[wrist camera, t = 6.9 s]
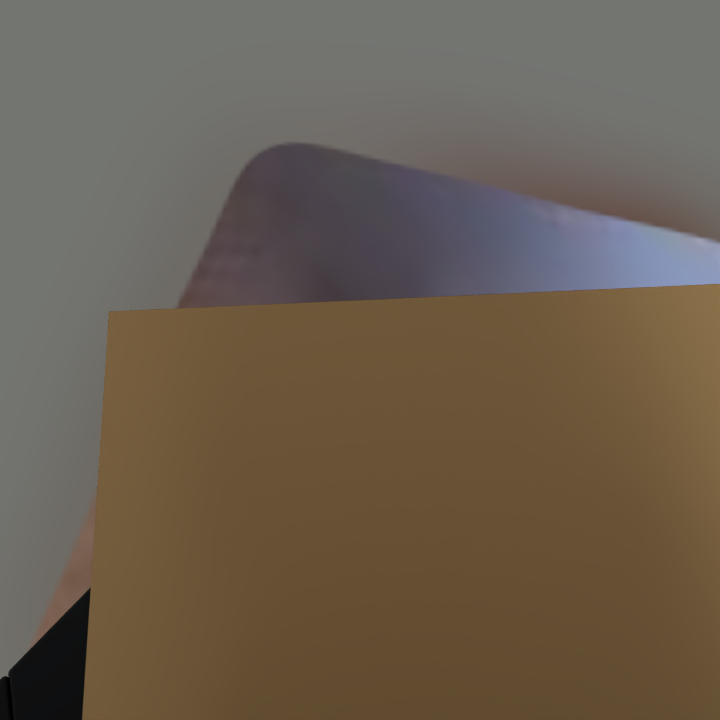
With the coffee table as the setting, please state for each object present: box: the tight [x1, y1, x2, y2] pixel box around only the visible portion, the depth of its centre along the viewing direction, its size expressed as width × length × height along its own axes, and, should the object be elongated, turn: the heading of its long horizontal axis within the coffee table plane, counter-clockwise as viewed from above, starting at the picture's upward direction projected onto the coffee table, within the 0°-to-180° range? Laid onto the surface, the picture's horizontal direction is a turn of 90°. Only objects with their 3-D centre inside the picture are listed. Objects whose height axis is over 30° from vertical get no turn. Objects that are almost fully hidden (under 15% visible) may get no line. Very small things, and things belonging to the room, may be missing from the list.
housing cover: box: [82, 284, 720, 720], centre depth 6 cm, size 6×6×3 cm
